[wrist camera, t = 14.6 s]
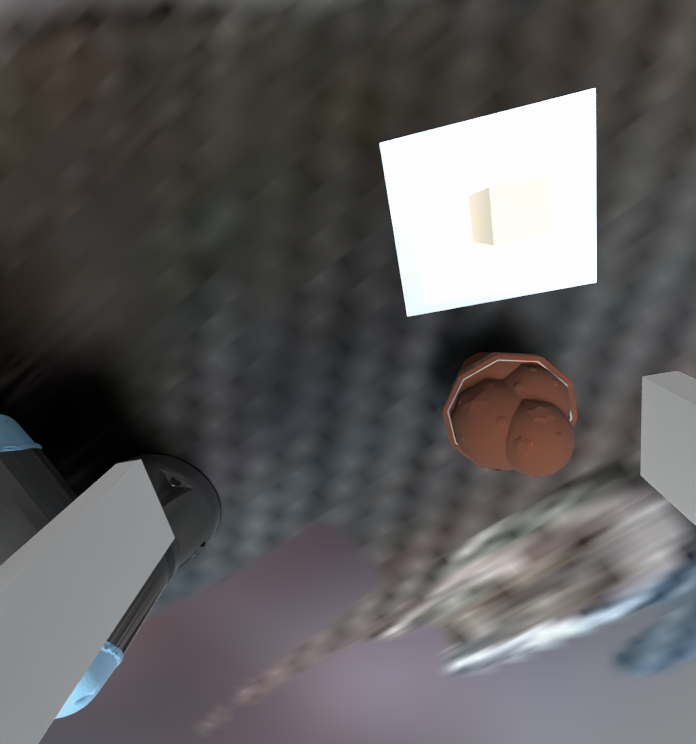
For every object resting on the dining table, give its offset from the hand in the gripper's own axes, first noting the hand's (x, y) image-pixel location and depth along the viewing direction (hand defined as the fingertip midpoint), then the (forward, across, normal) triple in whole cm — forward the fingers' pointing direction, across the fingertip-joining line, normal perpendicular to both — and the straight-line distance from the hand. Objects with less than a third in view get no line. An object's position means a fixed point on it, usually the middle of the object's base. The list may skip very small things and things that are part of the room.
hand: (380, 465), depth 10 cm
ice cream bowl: (+32, +10, -11) cm, 35 cm away
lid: (+31, +12, +5) cm, 33 cm away
